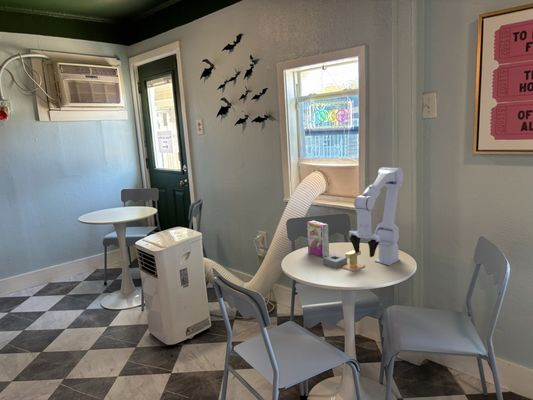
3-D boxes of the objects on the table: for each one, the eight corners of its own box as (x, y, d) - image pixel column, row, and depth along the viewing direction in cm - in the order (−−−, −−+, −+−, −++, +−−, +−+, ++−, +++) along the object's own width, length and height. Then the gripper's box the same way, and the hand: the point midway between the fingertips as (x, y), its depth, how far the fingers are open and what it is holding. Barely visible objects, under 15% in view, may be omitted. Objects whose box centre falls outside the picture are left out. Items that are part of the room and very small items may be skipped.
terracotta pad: (352, 263, 183) (352, 262, 183) (365, 266, 177) (365, 265, 177) (341, 267, 178) (341, 266, 178) (354, 271, 172) (354, 270, 172)
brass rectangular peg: (356, 263, 181) (356, 248, 179) (360, 264, 179) (360, 250, 178) (345, 268, 176) (345, 253, 174) (350, 269, 174) (349, 254, 173)
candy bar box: (307, 252, 201) (306, 221, 197) (314, 250, 203) (313, 220, 200) (322, 258, 192) (321, 226, 188) (329, 255, 194) (328, 224, 191)
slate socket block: (334, 259, 189) (333, 253, 188) (347, 263, 183) (347, 257, 182) (323, 264, 184) (322, 258, 183) (336, 268, 178) (336, 262, 177)
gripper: (344, 223, 167) (345, 253, 169) (373, 228, 156) (373, 260, 158) (354, 219, 171) (354, 249, 174) (383, 225, 160) (383, 256, 163)
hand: (364, 254), depth 166 cm, fingers open, 7 cm apart
